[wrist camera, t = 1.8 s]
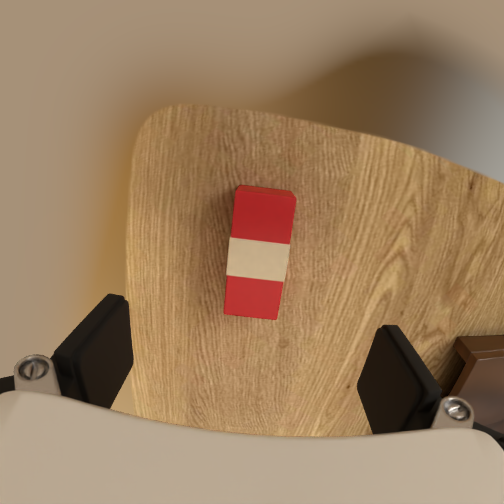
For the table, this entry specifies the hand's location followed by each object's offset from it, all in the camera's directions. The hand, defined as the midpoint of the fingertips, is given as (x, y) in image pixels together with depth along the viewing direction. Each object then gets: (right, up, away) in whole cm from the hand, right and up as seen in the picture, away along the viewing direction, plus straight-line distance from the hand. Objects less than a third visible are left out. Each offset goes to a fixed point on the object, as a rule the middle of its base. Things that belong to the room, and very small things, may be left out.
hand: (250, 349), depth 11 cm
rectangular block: (0, +4, +11) cm, 11 cm away
